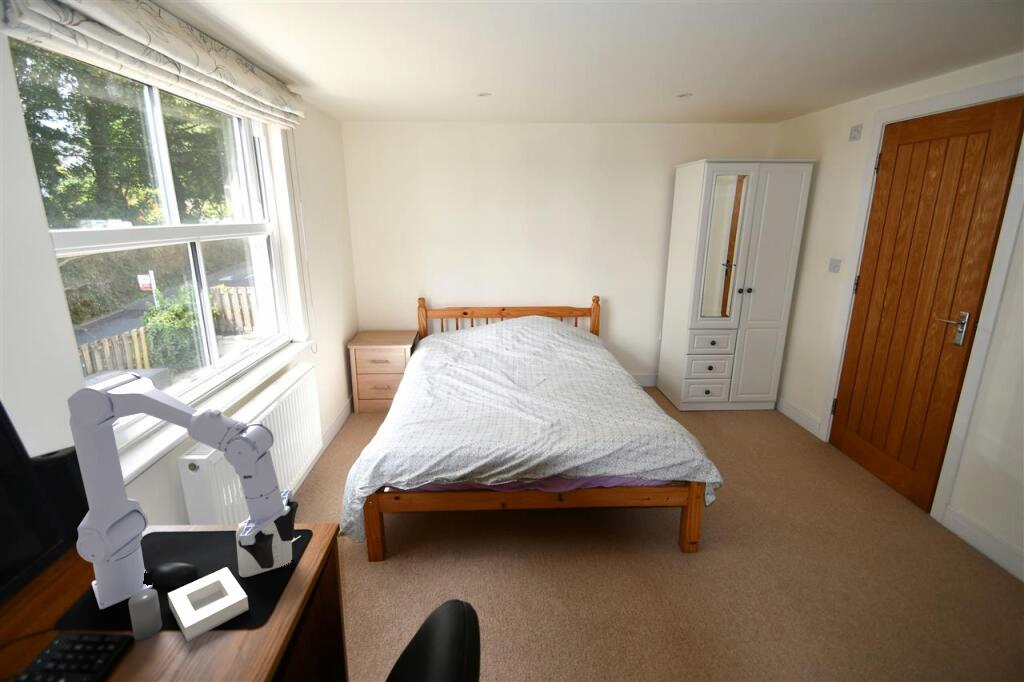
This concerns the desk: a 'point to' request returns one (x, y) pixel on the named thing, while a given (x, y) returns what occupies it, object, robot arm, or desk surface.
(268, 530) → the photo printer
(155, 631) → the grey peg
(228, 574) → the housing
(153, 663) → the desk surface
